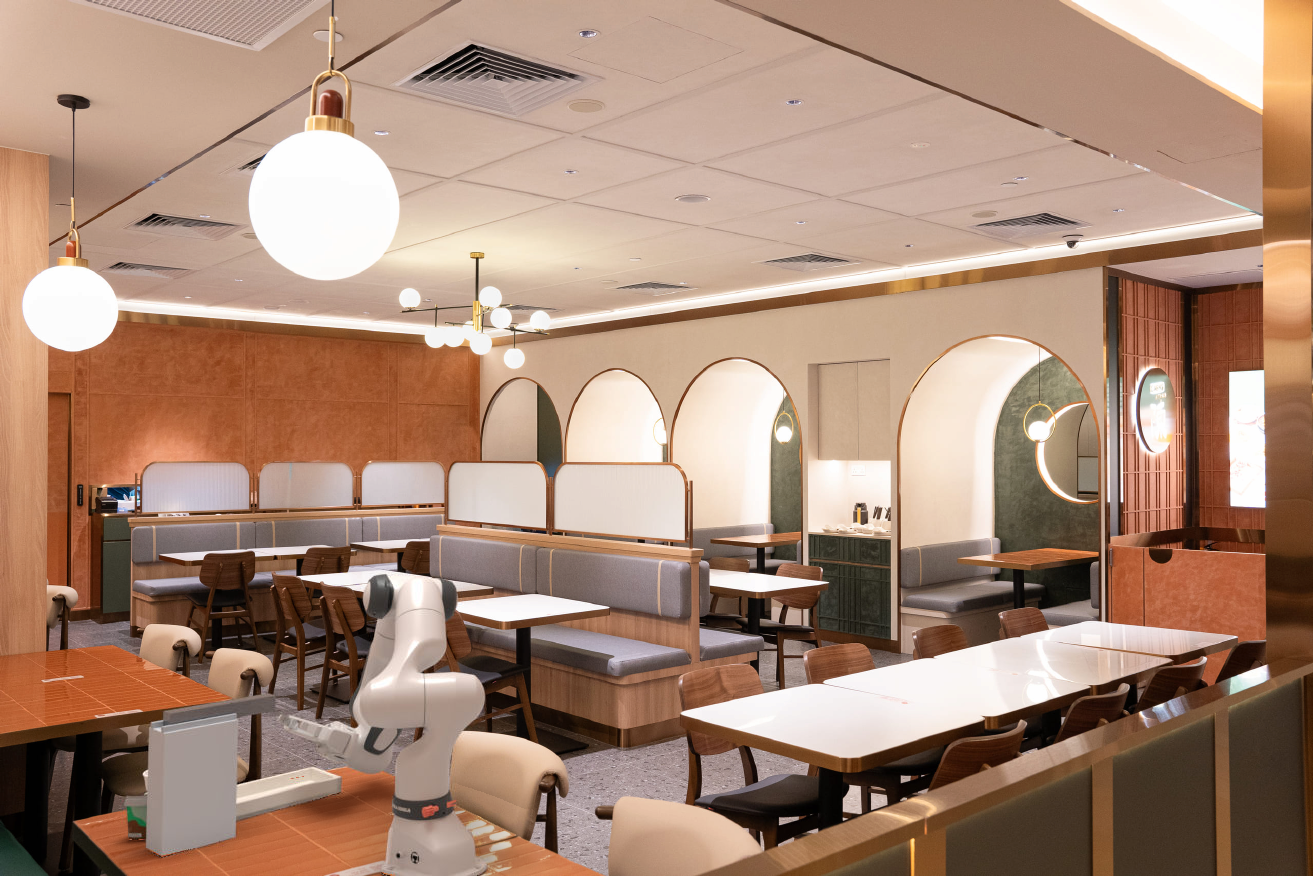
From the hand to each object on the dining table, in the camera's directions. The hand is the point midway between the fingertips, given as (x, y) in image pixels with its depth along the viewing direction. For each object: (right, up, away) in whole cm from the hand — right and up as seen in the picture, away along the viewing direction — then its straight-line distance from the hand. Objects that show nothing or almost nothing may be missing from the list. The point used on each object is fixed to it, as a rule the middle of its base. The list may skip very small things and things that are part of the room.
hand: (290, 721), depth 232 cm
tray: (-8, -23, +9) cm, 26 cm away
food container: (-25, -22, -13) cm, 36 cm away
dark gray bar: (-11, +4, -12) cm, 17 cm away
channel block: (-15, -22, -18) cm, 32 cm away
